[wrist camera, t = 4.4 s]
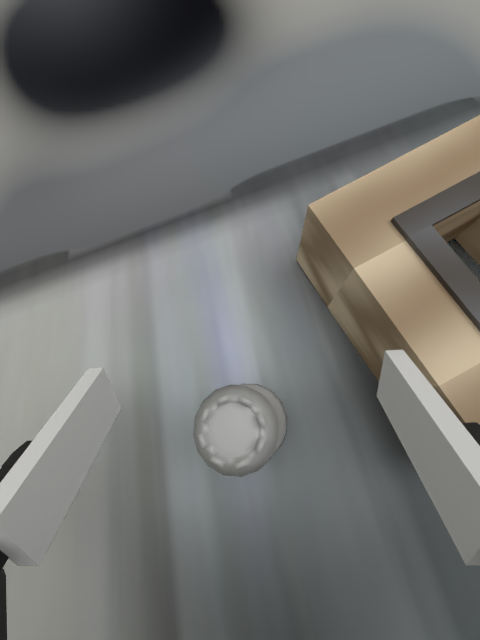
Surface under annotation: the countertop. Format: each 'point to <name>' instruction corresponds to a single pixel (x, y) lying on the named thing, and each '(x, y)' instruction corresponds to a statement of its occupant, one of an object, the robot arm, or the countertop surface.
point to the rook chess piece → (239, 428)
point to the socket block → (407, 263)
